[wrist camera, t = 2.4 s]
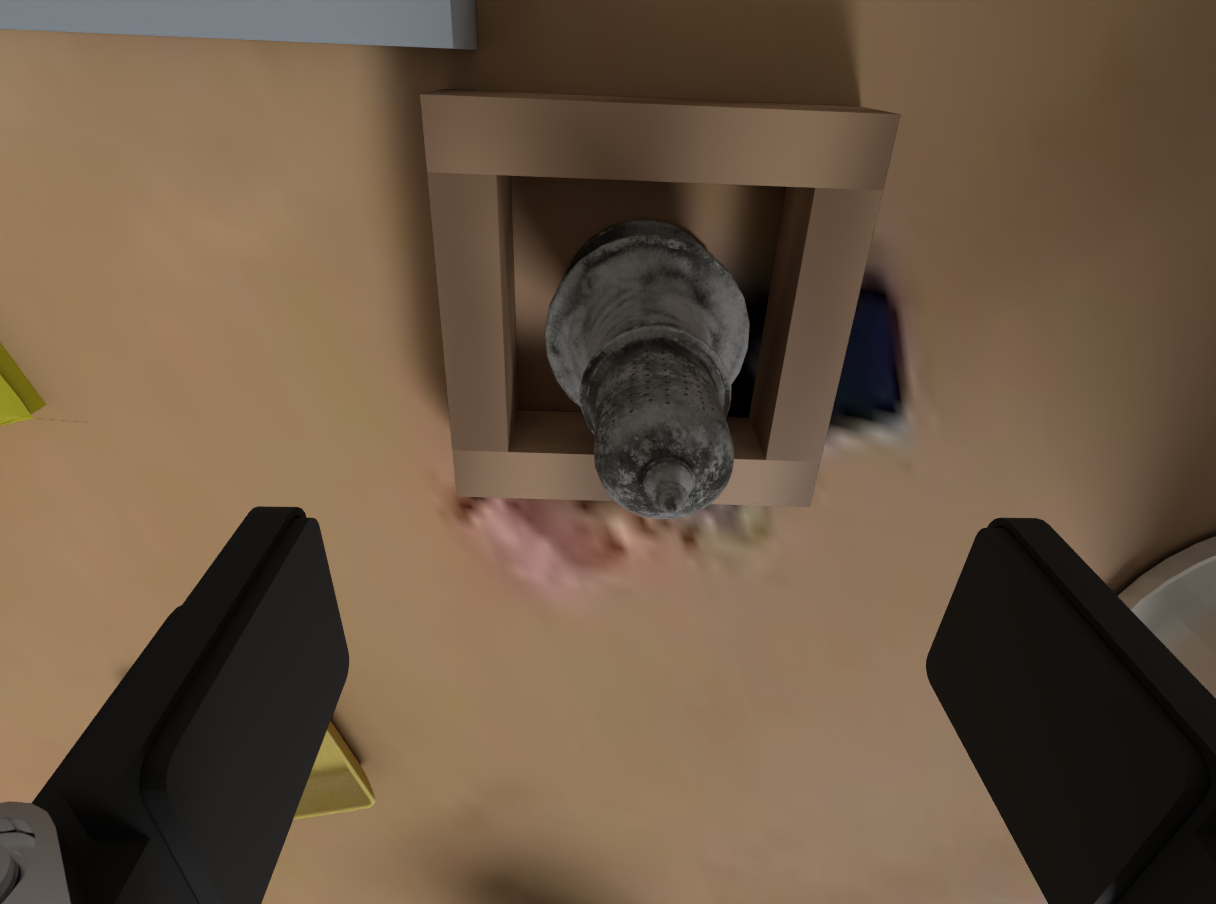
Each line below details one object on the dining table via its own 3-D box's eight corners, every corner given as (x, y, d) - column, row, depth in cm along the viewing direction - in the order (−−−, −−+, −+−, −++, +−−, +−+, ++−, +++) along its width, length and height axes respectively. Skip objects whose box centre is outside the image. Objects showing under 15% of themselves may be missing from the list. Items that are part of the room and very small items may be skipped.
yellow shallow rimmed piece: (151, 686, 32) (124, 724, 31) (318, 657, 31) (300, 694, 30) (240, 792, 37) (222, 830, 35) (390, 769, 36) (378, 807, 34)
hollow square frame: (861, 107, 19) (900, 114, 17) (789, 461, 26) (809, 506, 23) (445, 89, 19) (419, 94, 17) (471, 451, 25) (456, 496, 23)
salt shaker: (586, 180, 20) (568, 306, 10) (760, 247, 22) (904, 424, 11) (530, 350, 23) (471, 585, 13) (687, 403, 24) (747, 659, 14)
